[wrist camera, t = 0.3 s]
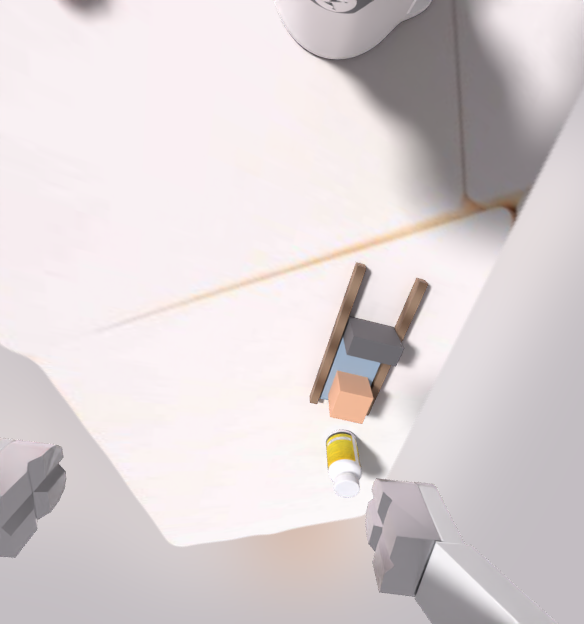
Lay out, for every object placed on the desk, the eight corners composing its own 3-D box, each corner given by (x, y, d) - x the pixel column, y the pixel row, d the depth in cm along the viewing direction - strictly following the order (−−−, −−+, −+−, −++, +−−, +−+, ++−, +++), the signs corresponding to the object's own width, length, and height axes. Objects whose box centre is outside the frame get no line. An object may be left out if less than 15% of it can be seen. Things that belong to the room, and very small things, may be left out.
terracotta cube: (337, 370, 52) (340, 390, 47) (367, 377, 52) (373, 398, 48) (328, 394, 54) (330, 416, 49) (357, 401, 54) (361, 423, 50)
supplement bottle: (319, 438, 60) (322, 487, 51) (343, 423, 58) (350, 471, 49) (338, 455, 61) (343, 505, 52) (362, 441, 60) (371, 491, 51)
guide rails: (356, 262, 46) (357, 265, 44) (424, 279, 46) (428, 284, 45) (309, 396, 56) (309, 402, 54) (366, 408, 56) (368, 415, 55)
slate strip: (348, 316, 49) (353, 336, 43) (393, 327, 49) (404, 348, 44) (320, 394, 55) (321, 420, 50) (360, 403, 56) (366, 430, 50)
